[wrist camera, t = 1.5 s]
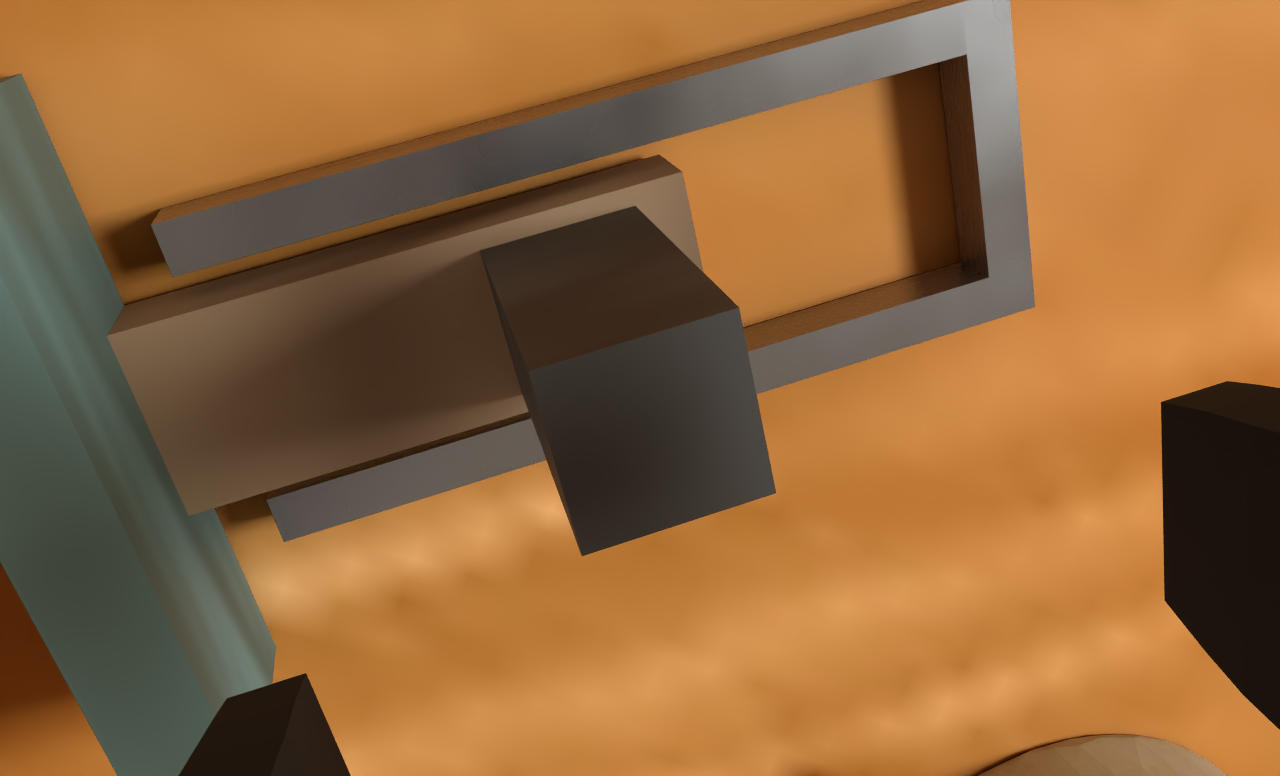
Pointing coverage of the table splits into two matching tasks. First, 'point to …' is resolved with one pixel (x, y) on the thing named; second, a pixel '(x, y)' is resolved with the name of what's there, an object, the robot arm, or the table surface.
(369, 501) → the track
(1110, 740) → the beige teapot
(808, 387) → the table surface
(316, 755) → the robot arm
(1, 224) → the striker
